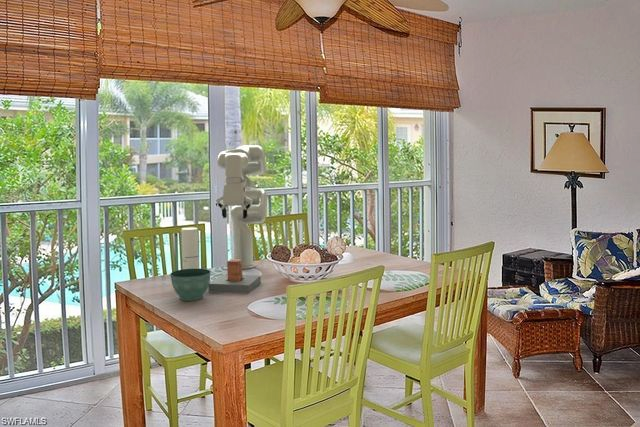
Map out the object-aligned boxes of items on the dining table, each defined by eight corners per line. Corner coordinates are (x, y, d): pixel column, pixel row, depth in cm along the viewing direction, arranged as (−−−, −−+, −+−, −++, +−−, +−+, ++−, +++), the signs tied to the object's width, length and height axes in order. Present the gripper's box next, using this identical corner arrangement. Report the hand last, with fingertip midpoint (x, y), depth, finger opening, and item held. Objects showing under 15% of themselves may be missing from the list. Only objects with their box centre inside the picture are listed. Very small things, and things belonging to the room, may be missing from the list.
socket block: (222, 281, 280) (222, 274, 279) (260, 283, 277) (260, 275, 276) (208, 291, 262) (208, 283, 262) (249, 293, 259) (248, 285, 259)
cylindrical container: (195, 285, 273) (193, 230, 270) (180, 284, 274) (178, 229, 271) (201, 281, 280) (200, 227, 277) (187, 281, 281) (185, 227, 278)
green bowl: (163, 299, 251) (162, 273, 250) (194, 291, 263) (193, 266, 262) (187, 305, 241) (186, 278, 239) (219, 297, 253) (218, 271, 252)
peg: (231, 285, 272) (231, 259, 271) (242, 286, 271) (241, 259, 270) (227, 288, 267) (227, 261, 266) (238, 289, 266) (238, 261, 265)
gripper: (254, 180, 283) (255, 217, 285) (218, 180, 286) (219, 216, 288) (249, 181, 276) (250, 219, 278) (213, 181, 279) (214, 218, 281)
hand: (234, 218), depth 283 cm, fingers open, 9 cm apart
